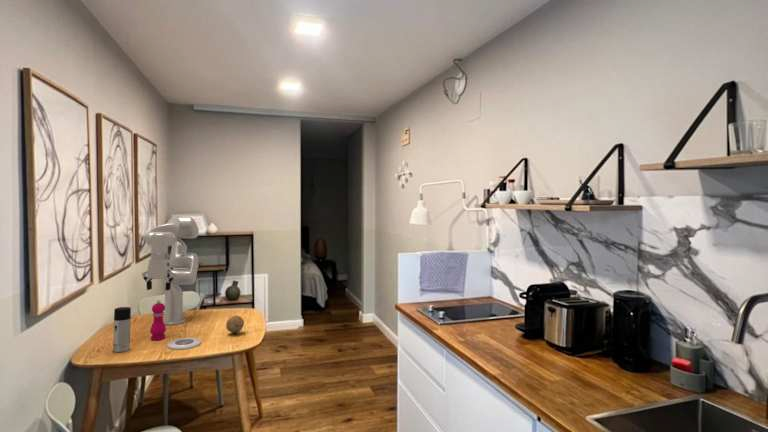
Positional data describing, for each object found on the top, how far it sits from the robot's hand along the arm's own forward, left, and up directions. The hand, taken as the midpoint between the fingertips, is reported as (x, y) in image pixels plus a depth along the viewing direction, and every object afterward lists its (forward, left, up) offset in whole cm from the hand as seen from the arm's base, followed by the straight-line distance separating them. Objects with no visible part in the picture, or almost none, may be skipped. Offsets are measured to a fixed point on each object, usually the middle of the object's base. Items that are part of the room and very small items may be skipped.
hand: (158, 289), depth 210 cm
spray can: (+18, -7, -26) cm, 32 cm away
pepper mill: (0, 0, -26) cm, 26 cm away
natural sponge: (-11, +36, -26) cm, 46 cm away
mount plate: (+8, +18, -26) cm, 32 cm away
